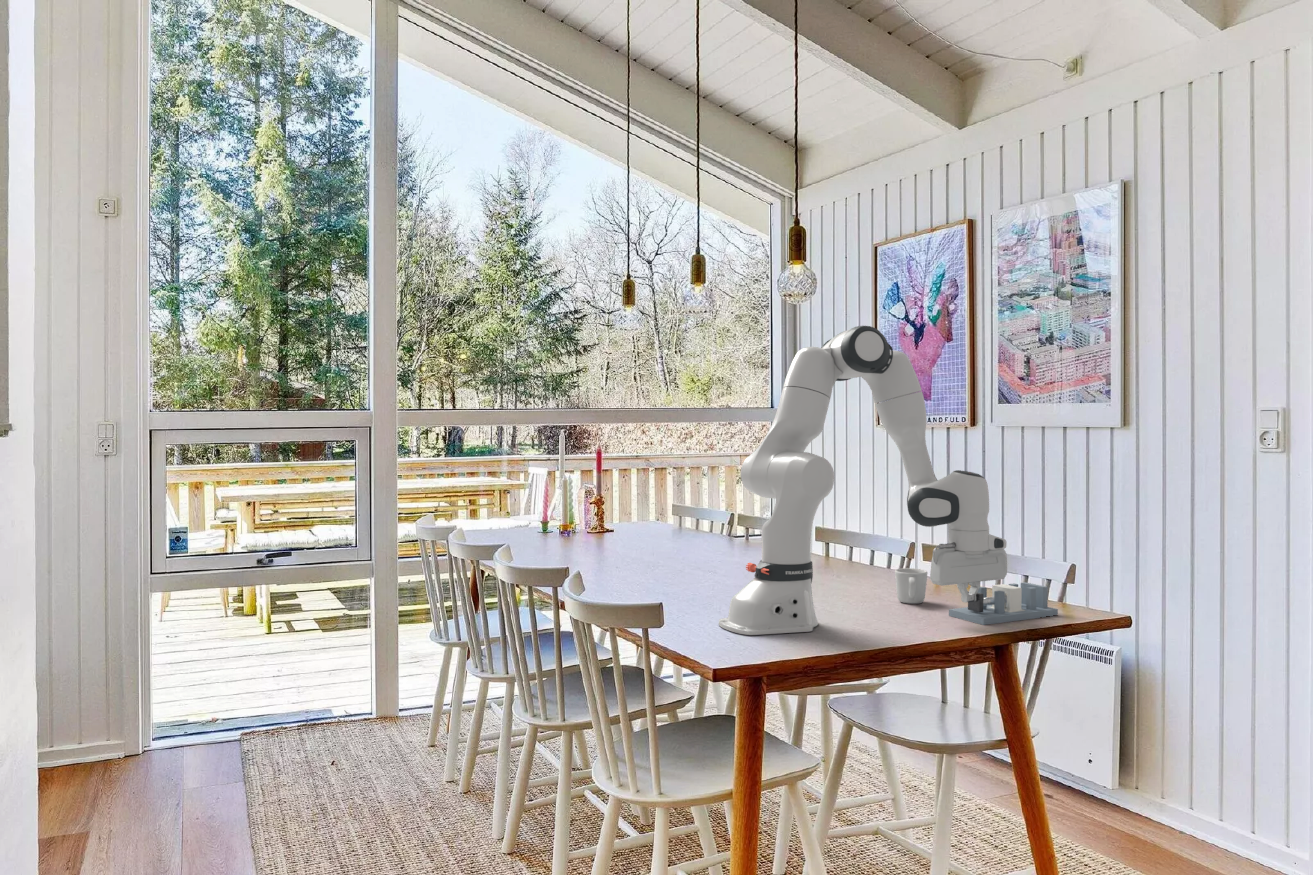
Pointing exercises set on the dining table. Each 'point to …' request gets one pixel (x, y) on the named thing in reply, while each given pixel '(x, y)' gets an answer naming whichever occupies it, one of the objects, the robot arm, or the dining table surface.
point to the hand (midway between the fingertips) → (968, 601)
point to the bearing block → (1031, 607)
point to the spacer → (1010, 596)
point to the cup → (911, 585)
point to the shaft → (981, 602)
